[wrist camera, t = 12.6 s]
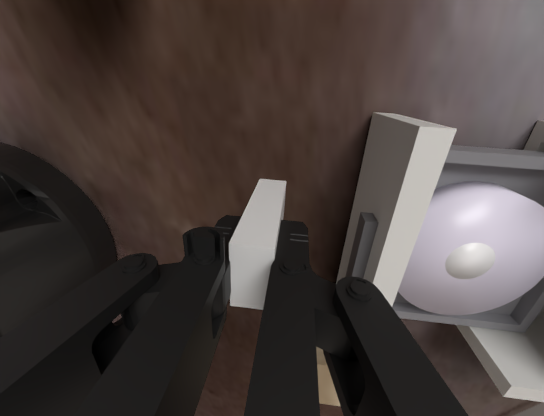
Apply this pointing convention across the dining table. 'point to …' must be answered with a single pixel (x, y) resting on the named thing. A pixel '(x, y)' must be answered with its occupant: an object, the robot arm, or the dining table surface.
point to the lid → (475, 250)
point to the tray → (414, 204)
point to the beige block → (325, 381)
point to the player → (513, 340)
